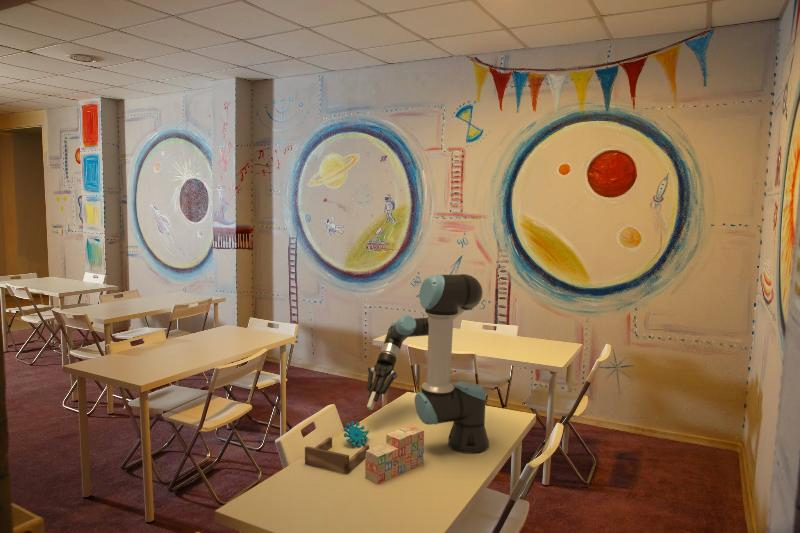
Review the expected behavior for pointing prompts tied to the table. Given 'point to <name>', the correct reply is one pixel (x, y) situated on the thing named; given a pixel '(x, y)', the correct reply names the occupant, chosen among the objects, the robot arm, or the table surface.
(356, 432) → the gear
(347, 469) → the wooden u-shaped enclosure
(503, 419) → the table surface
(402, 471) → the stack of blocks
